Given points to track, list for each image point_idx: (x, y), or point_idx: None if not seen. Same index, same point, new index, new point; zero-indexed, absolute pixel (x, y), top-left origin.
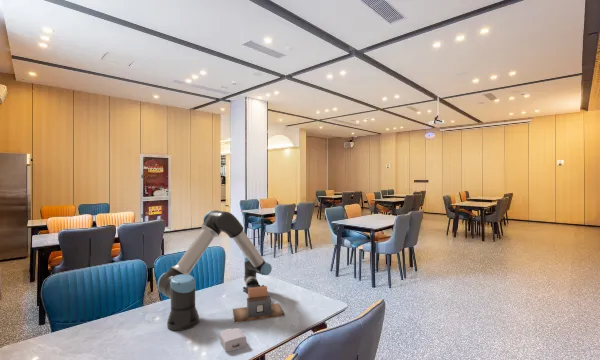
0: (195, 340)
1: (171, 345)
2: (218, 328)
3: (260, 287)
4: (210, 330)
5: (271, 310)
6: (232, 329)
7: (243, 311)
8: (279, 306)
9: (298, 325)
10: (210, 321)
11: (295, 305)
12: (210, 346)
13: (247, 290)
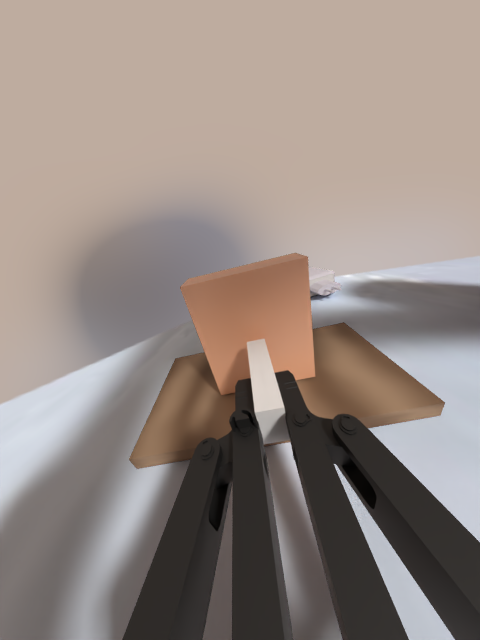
0: (400, 283)
1: (444, 270)
2: (380, 310)
3: (223, 272)
4: (398, 303)
5: (208, 374)
6: (318, 288)
7: (338, 369)
8: (157, 408)
9: (176, 333)
10: (468, 332)
11: (67, 454)
12: (347, 282)
13: (440, 504)
